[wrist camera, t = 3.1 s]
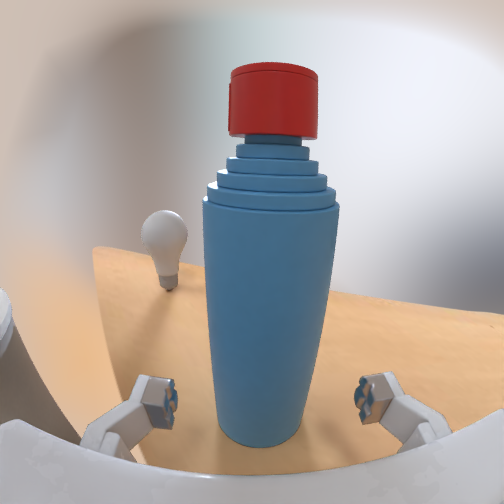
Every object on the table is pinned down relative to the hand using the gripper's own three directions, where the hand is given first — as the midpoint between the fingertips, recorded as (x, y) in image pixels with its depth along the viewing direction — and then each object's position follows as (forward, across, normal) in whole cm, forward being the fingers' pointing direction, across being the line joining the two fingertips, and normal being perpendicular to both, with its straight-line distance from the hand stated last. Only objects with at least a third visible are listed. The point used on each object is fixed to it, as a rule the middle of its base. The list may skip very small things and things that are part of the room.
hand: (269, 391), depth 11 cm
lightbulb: (+25, +12, +9) cm, 29 cm away
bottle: (+5, 0, +9) cm, 10 cm away
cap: (+5, 0, -10) cm, 11 cm away
